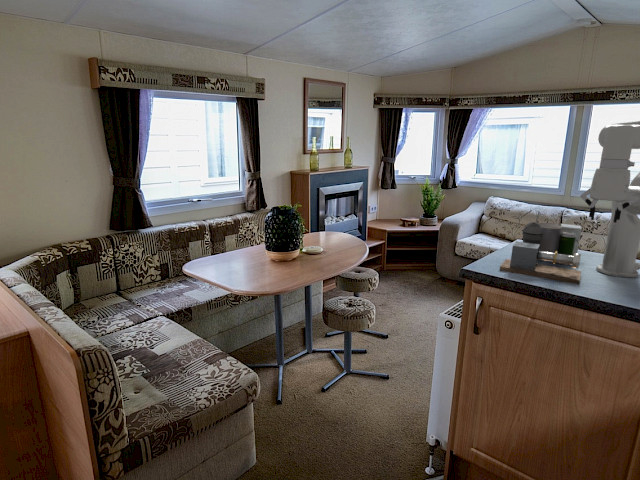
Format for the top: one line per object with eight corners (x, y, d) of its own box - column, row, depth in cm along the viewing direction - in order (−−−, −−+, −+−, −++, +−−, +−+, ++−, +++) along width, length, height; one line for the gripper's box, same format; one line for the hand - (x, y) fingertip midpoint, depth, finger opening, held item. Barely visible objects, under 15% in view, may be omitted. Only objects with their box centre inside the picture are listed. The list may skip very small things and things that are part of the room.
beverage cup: (521, 257, 169) (528, 209, 164) (540, 260, 164) (548, 211, 159) (516, 261, 163) (523, 211, 158) (536, 265, 159) (544, 213, 154)
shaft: (578, 266, 145) (581, 252, 143) (578, 270, 140) (580, 255, 139) (523, 257, 154) (525, 244, 153) (521, 261, 150) (523, 247, 148)
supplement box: (556, 255, 172) (561, 226, 169) (555, 251, 178) (560, 223, 175) (576, 258, 168) (582, 228, 165) (575, 254, 175) (580, 225, 172)
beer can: (566, 265, 158) (572, 235, 155) (552, 262, 163) (557, 232, 160) (574, 263, 161) (579, 233, 158) (559, 260, 166) (564, 231, 163)
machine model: (580, 275, 148) (585, 249, 145) (579, 284, 138) (584, 257, 136) (505, 262, 161) (508, 239, 159) (499, 270, 151) (502, 245, 149)
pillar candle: (529, 253, 174) (534, 218, 171) (556, 256, 170) (562, 221, 166) (530, 259, 166) (535, 223, 162) (557, 263, 162) (563, 225, 158)
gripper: (646, 165, 130) (634, 222, 134) (582, 163, 139) (573, 215, 143) (649, 167, 124) (636, 226, 128) (581, 164, 133) (572, 219, 137)
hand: (603, 220), depth 136 cm, fingers open, 5 cm apart
